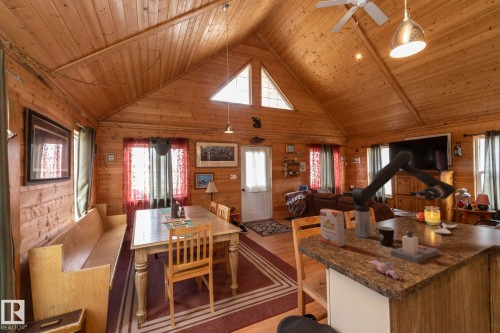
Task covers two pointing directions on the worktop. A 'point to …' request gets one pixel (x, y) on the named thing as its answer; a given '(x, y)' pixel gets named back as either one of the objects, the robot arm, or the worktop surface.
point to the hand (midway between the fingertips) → (419, 195)
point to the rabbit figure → (384, 269)
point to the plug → (410, 243)
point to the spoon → (445, 231)
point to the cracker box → (332, 227)
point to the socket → (423, 254)
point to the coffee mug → (386, 236)
